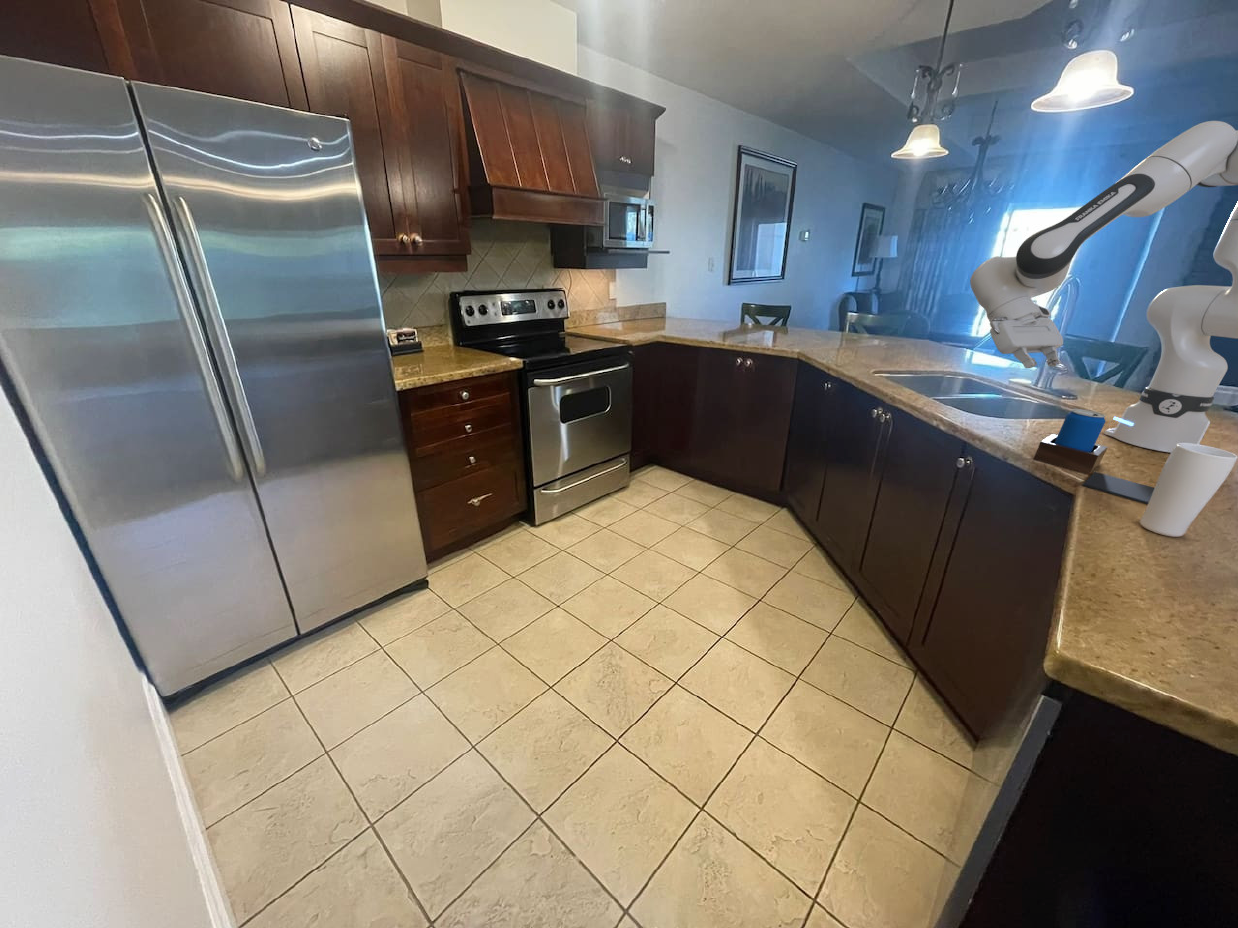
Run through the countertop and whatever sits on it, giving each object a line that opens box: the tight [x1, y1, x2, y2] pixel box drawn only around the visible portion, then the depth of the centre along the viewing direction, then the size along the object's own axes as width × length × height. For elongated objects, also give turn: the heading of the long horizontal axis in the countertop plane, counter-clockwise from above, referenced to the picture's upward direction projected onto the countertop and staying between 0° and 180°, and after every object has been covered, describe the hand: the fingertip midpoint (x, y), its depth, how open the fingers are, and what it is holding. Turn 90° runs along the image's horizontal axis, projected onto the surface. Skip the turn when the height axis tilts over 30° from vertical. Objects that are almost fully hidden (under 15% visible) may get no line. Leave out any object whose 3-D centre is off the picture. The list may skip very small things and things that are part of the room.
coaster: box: [1081, 471, 1155, 505], centre depth 97 cm, size 11×11×1 cm
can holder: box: [1032, 433, 1108, 475], centre depth 109 cm, size 10×10×4 cm
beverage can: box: [1054, 408, 1106, 452], centre depth 107 cm, size 6×6×12 cm
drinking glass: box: [1139, 443, 1238, 538], centre depth 79 cm, size 7×7×15 cm
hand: (1043, 366), depth 111 cm, fingers open, 8 cm apart
